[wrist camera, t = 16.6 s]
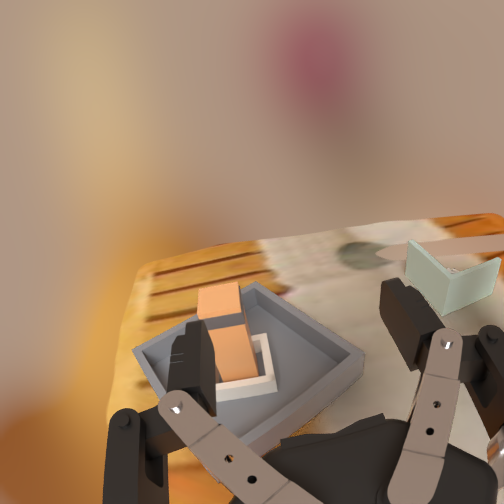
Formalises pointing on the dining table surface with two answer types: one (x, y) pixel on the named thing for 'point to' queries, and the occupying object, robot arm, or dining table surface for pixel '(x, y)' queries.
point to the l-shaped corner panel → (449, 280)
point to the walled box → (270, 371)
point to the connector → (228, 331)
